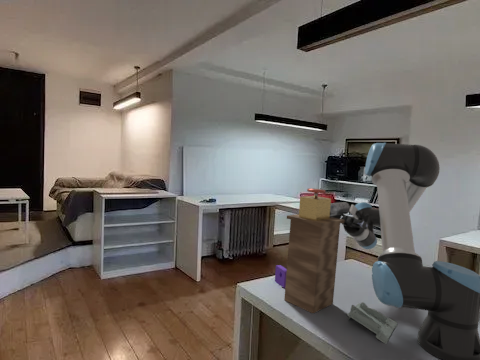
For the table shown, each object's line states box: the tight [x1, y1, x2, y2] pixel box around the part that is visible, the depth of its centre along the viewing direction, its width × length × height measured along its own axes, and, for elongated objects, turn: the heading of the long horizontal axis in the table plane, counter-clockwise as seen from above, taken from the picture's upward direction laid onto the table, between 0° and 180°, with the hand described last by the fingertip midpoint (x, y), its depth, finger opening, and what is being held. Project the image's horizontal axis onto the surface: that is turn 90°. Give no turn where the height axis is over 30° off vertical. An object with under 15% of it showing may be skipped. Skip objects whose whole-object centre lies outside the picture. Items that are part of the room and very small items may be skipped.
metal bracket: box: [346, 301, 398, 345], centre depth 100 cm, size 14×6×15 cm
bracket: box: [274, 264, 287, 289], centre depth 130 cm, size 12×7×7 cm, turn 114°
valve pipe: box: [298, 188, 351, 221], centre depth 116 cm, size 24×7×10 cm, turn 133°
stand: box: [283, 213, 345, 314], centre depth 113 cm, size 14×14×30 cm
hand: (334, 204), depth 119 cm, fingers open, 13 cm apart
